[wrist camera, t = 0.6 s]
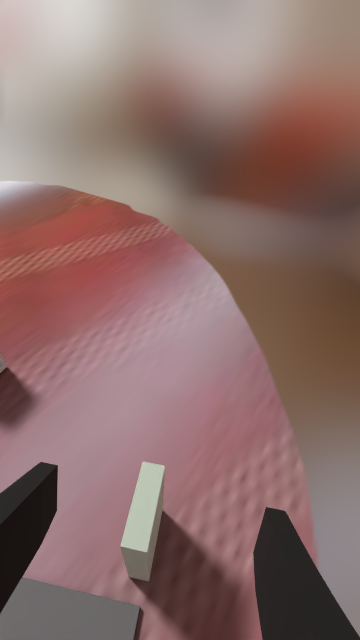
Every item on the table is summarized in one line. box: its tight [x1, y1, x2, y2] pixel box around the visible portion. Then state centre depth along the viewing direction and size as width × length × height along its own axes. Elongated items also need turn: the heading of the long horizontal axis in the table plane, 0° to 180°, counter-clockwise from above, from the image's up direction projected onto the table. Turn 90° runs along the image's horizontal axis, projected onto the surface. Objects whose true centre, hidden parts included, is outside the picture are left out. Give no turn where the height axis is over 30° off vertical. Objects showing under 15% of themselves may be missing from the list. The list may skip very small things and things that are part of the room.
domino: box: [120, 462, 165, 582], centre depth 22 cm, size 2×5×9 cm, turn 170°
